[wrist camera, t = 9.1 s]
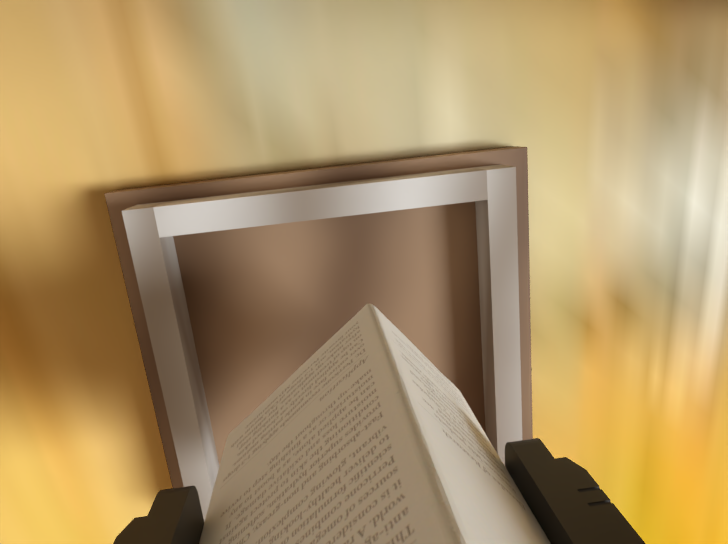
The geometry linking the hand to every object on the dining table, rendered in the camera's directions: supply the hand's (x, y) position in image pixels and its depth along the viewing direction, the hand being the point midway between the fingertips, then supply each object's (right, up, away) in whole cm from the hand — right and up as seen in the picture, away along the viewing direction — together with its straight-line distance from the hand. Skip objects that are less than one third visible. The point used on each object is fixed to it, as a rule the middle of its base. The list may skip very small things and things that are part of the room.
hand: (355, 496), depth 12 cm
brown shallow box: (-1, 0, +10) cm, 10 cm away
